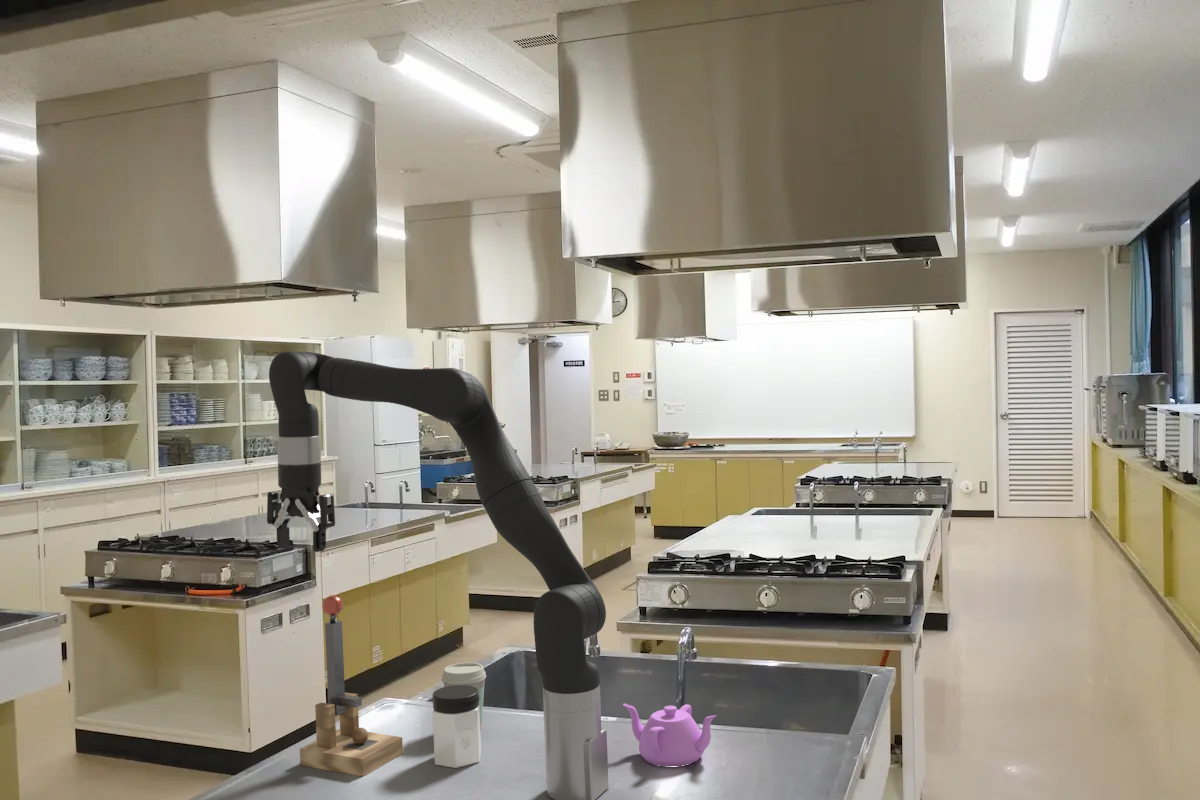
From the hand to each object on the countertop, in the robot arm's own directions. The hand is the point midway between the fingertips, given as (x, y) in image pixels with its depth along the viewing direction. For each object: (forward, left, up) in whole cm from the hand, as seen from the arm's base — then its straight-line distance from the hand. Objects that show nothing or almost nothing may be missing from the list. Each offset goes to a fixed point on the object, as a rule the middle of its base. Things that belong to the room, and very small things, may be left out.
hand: (301, 549), depth 179 cm
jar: (-28, -7, -38) cm, 47 cm away
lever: (-8, 0, -29) cm, 31 cm away
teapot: (-63, -21, -38) cm, 76 cm away
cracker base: (-10, 0, -37) cm, 39 cm away
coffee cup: (-21, -20, -38) cm, 47 cm away
